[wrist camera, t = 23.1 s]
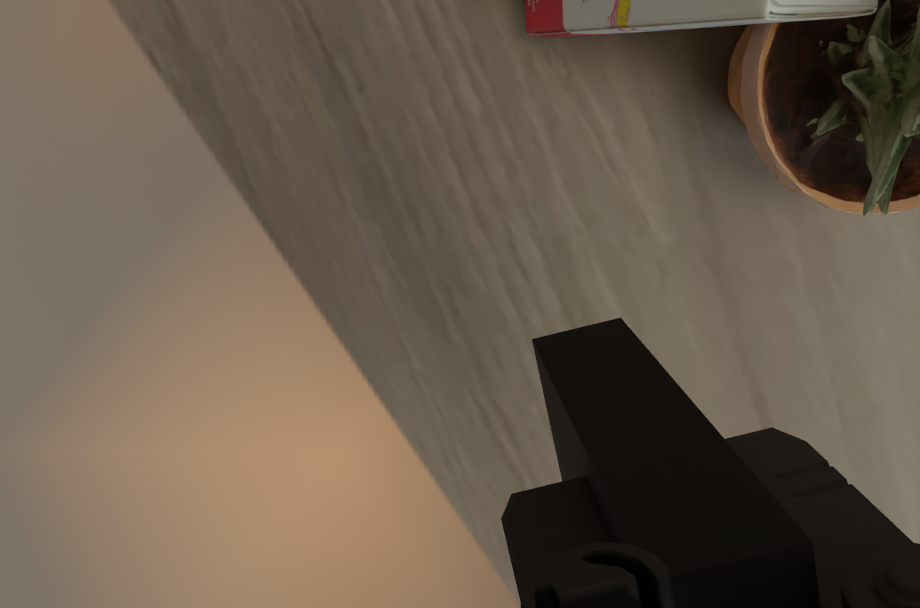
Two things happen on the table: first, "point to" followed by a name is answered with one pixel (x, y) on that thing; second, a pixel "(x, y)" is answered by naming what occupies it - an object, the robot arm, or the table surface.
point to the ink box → (676, 14)
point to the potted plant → (836, 106)
